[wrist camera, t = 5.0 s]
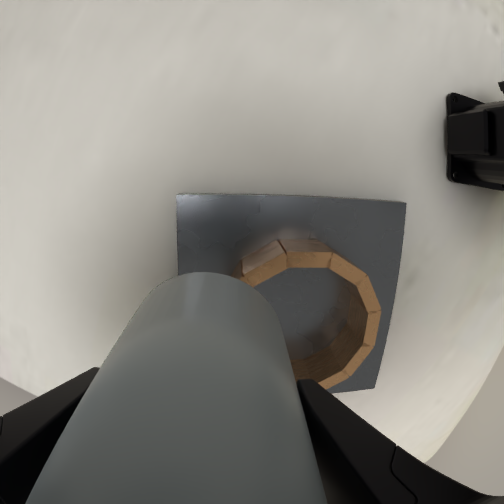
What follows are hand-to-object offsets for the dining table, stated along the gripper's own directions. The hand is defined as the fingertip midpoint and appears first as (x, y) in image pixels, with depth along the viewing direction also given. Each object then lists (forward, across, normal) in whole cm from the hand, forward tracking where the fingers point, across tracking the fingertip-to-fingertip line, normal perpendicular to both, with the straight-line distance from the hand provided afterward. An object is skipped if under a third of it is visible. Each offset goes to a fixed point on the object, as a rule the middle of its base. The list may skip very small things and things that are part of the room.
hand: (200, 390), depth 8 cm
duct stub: (+2, 0, 0) cm, 2 cm away
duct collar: (+12, -4, +3) cm, 13 cm away
